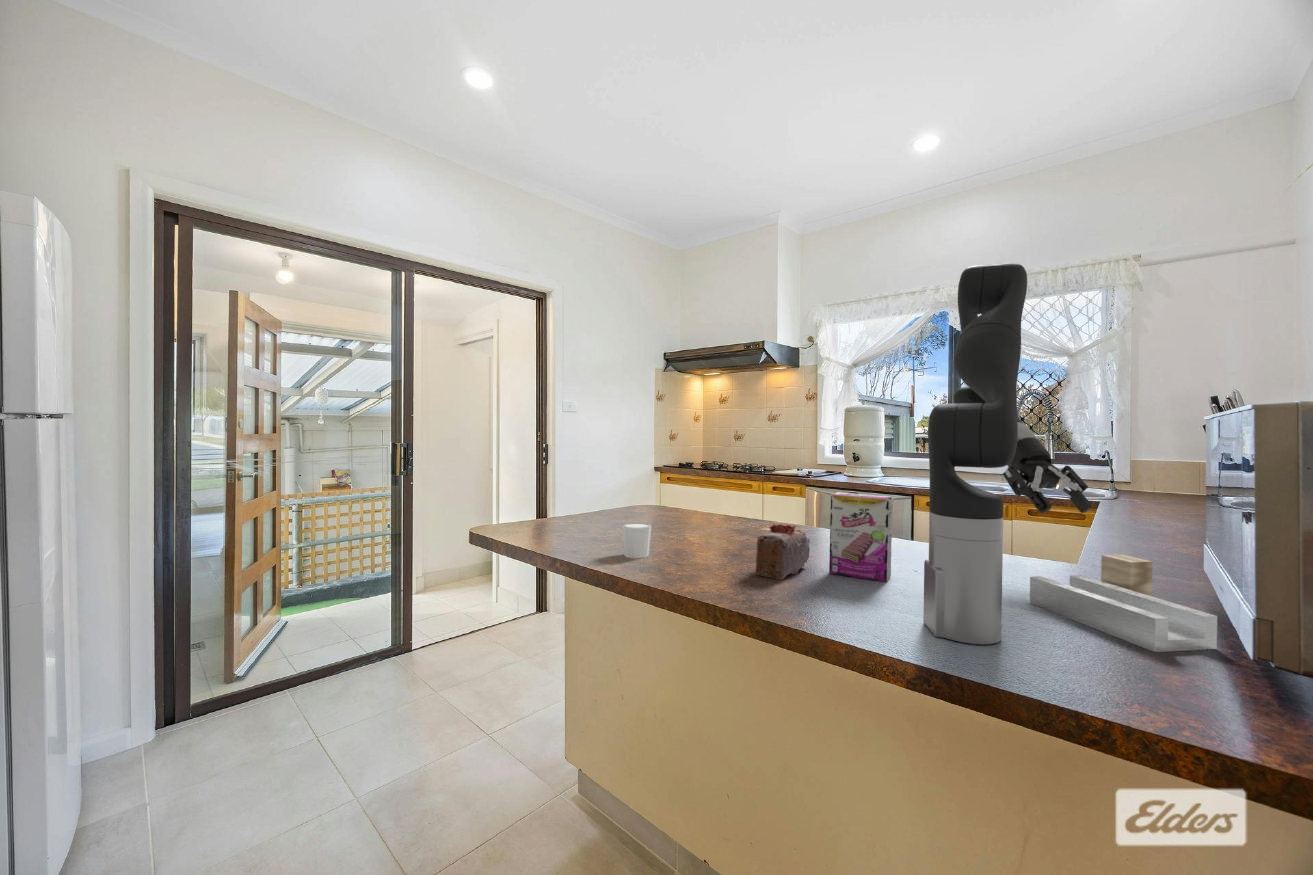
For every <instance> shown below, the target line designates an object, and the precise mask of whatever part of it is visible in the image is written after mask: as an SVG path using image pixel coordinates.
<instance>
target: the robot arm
mask: <svg viewBox="0 0 1313 875" xmlns="http://www.w3.org/2000/svg"><path fill="white" fill-rule="evenodd" d="M1027 290H1028V274H1027V270H1026V268H1025V267H1024V266H1023V265H1022V264H1019V263H1015V262H1013V263H1012V262H1011V263H1010V262H1007V263H1005V262H1003V263H995V264H979V265H971V266H968V267H966V268H965V269H964V270H963V271H962V272H961V275H960V278H959V281H958V288H957V307H958V316H959V326H960V334H959V336H958V339H957V343H956V348H955V352H954V353H955V354H954V358H953V365H954V366H953V367H954V369H955V372H956V373H957V375H958V377H959V379H960V380H962V382H963V383H964V384H965V386H961V387H960V388H957V390H955V393H954V394H953V403H943V404H942V403H941V404H940V403H939V404H937V405H935V406H934V407H933V408H932V409H931V412H930V414H929V418H928V424H927V425H928V426H927V444H928V459H929V460H928V461H929V467H928V468H929V507H928V510H929V511H928V512H929V513H928V514H929V515H928V516H929V519H928V520H929V521H928V526H929V527H928V559H925V560H924V564H923V570H924V571H923V621H922V622H923V623H924V624H925V625H926V628H927V629H928V630H929V631H930V632H931V633H932V635H933V636H934V637H936V638H944V639H947V640H951V641H956V642H960V643H966V644H971V645H992V644H997V643H999V642H1000V641H1001V640H1002V630H1003V629H1002V628H1003V622H1002V620H1003V619H1002V614H1003V613H1002V611H1003V608H1002V606H1003V603H1002V602H1003V560H1004V559H1003V556H1004V551H1003V550H1004V549H1003V548H1004V508H1005V507H1004V501H1003V499H1002V498H1001V497H1000V496H999V495H997V494H995V493H993V492H991V491H987V490H985V489H984V490H983V489H981V488H979V487H976V486H974V485H972V484H971V483H969V482H967V481H966V480H964V479H963V478H961V477H960V476H959V475H958V474H957V472H956V469H955V467H956V468H959V467H960V468H961V467H962V468H980V469H981V468H984V469H987V468H988V469H997V468H1004V467H1006V466H1007V468H1006V469H1005V471H1004V472H1003V473H1002V475H1003V477H1004V479H1005V480H1006V482H1007V483H1008V486H1009V487H1010V488H1011V490H1012V491H1013V493H1014V494H1015V495H1016V496H1017V497H1021V496H1024V497H1025V499H1026V498H1027V499H1029V500H1030V502H1031V503H1032V505H1034V507H1035V509H1037V511H1039V512H1040V513H1041V514H1047V513H1048V512H1049V511H1050V510H1051V509H1052V505H1051V503H1049V501H1048V500H1047V498H1046V497H1045V495H1044V494H1043V492H1041V491H1039V490H1042V489H1050V490H1052V491H1054V492H1056V493H1061V494H1064V495H1065V496H1067V498H1069V500H1070V501H1071V502H1072V504H1073V505H1074V506H1075V508H1076V509H1077V510H1078V511H1079V512H1080V513H1081V514H1086V513H1088V512H1089V511H1090V510H1091V509H1092V504H1091V502H1090V501H1089V500H1088V499H1087V497H1086V496H1085V494H1084V492H1085V491H1086V490H1087V489H1088V488H1089V486H1088V484H1087V483H1086V482H1084V480H1083V479H1082V478H1081V477H1080V476H1079V474H1077V472H1075V471H1074V469H1073V468H1072V467H1071V466H1070V465H1065V466H1064V467H1062V468H1061V467H1060V468H1058V467H1056V466H1055V465H1054V464H1053V463H1052V454H1051V453H1050V452H1049V450H1048V449H1046V447H1045V445H1043V443H1042V442H1041V441H1040V440H1039V438H1037V436H1036V435H1035V433H1034V432H1033V431H1032V430H1031V429H1030V428H1028V427H1027V426H1026V425H1025V424H1024V422H1023V421H1022V420H1021V419H1020V417H1019V416H1018V404H1017V401H1018V399H1017V397H1018V396H1017V388H1018V387H1017V385H1018V378H1019V377H1018V376H1019V369H1020V361H1021V354H1022V351H1021V350H1022V318H1023V311H1024V306H1025V300H1026V298H1027V297H1026V296H1027ZM1060 481H1062V483H1061V484H1059V482H1060ZM1058 484H1059V485H1058ZM1066 487H1068V488H1069V489H1070V490H1068V489H1067V488H1066Z"/></svg>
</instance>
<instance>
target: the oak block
mask: <svg viewBox="0 0 1313 875" xmlns="http://www.w3.org/2000/svg"><path fill="white" fill-rule="evenodd" d="M1100 563H1101V567H1100V569H1101V570H1100V575H1101V576H1100V581H1101V582H1105V583H1108V584H1112V585H1115V586H1118V587H1122V588H1125V589H1128V590H1132V591H1135V592H1138V593H1142V594H1145V595H1149V596H1152V595H1153V594H1152V593H1153V592H1152V591H1153V561H1151V560H1147V559H1144V558H1143V559H1142V558H1138V557H1134V556H1131V555H1127V554H1102V555H1101V562H1100ZM1152 597H1153V596H1152Z"/></svg>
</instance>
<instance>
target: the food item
mask: <svg viewBox="0 0 1313 875" xmlns="http://www.w3.org/2000/svg"><path fill="white" fill-rule="evenodd" d="M769 529H770V530H768V531H769V532H768V533H765V534H761V535H759V536H757V538H756V553H755V554H756V555H755V572H756V575H757V576H759V577H760V576H761V577H766V578H769V579H777V580H781V581H782V580H784V579H785V578H786V577H787V576H789V575H797V574H798V573H799V570H801V569H802V568H803V567H804V566H805V564H806V563H808V560H809V558H810V542H811V541H810V539H809V538H808V537H807V535H806V533H805V532H804V531H802V530H800V529H798V528H796V526H795V525H793V526H792V525H791V524H785V525H783V524H773V525H771V526H770V527H769Z"/></svg>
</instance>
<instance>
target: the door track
mask: <svg viewBox="0 0 1313 875" xmlns="http://www.w3.org/2000/svg"><path fill="white" fill-rule="evenodd" d="M1029 604H1032V605H1034V606H1037V607H1039V606H1041V607H1040V608H1042V609H1044V608H1045V610H1047V611H1049V610H1050V612H1052V613H1055V614H1057V615H1060V616H1061V617H1064V618H1068V619H1069V620H1072V621H1074V622H1077V623H1080V624H1083V625H1085V626H1087V627H1090V628H1093V629H1095V630H1098V631H1100V632H1103V633H1104V634H1105V633H1106V634H1108V635H1110V636H1112V637H1115V638H1118V639H1121V640H1122V641H1125V642H1128V643H1131V644H1133V645H1135V646H1138V647H1140V648H1144V649H1145V650H1148V651H1151V652H1153V653H1165V652H1184V651H1204V650H1205V651H1206V650H1207V649H1208V650H1217V648H1218V646H1217V645H1218V644H1217V643H1218V615H1215V614H1211V613H1208V612H1206V611H1202V610H1198V609H1195V608H1192V607H1188V606H1185V605H1183V604H1178V603H1175V602H1171V601H1169V600H1165V599H1162V598H1158V597H1155V596H1149V595H1145V594H1142V593H1138V592H1135V591H1132V590H1128V589H1125V588H1122V587H1118V586H1115V585H1112V584H1108V583H1105V582H1101V580H1097V579H1094V578H1091V577H1088V576H1085V575H1080V574H1078V575H1077V574H1076V575H1075V574H1073V575H1071V574H1070V575H1069V585H1068V584H1065V583H1062V582H1060V581H1056V580H1054V579H1050V578H1047V577H1044V576H1041V575H1037V576H1029ZM1208 650H1207V651H1208Z"/></svg>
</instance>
